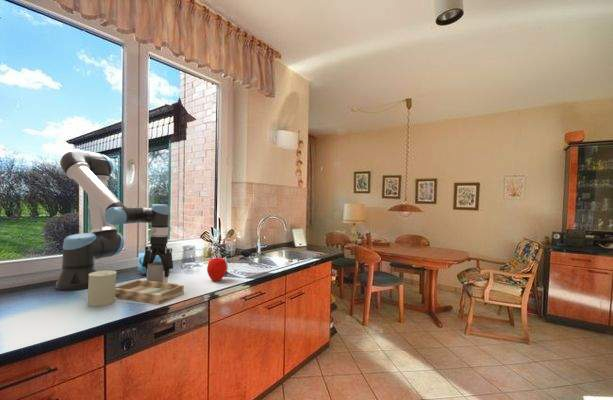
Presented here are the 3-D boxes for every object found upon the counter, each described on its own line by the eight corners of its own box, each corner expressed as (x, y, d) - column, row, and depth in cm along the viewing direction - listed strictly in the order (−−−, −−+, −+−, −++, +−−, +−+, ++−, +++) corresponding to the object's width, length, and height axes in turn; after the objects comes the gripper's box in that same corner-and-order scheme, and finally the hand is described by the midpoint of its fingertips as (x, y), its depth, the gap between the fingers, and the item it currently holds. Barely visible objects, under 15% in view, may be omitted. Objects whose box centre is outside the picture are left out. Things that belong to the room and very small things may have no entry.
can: (93, 308, 107) (95, 276, 107) (82, 302, 112) (84, 272, 112) (120, 301, 115) (121, 271, 115) (108, 296, 120) (110, 268, 120)
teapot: (132, 274, 155) (133, 250, 155) (161, 269, 168) (162, 247, 168) (149, 280, 145) (150, 255, 145) (178, 275, 158) (179, 251, 158)
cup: (158, 287, 135) (159, 266, 135) (142, 285, 136) (143, 264, 136) (170, 282, 143) (171, 262, 143) (155, 281, 145) (156, 261, 145)
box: (110, 296, 120) (110, 288, 120) (139, 286, 134) (139, 279, 134) (158, 304, 114) (159, 295, 114) (183, 293, 129) (184, 285, 129)
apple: (215, 284, 144) (216, 259, 144) (202, 280, 149) (203, 257, 149) (230, 280, 153) (231, 257, 153) (216, 277, 158) (217, 254, 158)
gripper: (135, 235, 139) (132, 282, 139) (172, 238, 134) (169, 287, 134) (147, 233, 146) (144, 278, 146) (183, 236, 141) (180, 282, 141)
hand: (156, 282), depth 140 cm, fingers closed on cup, 8 cm apart
